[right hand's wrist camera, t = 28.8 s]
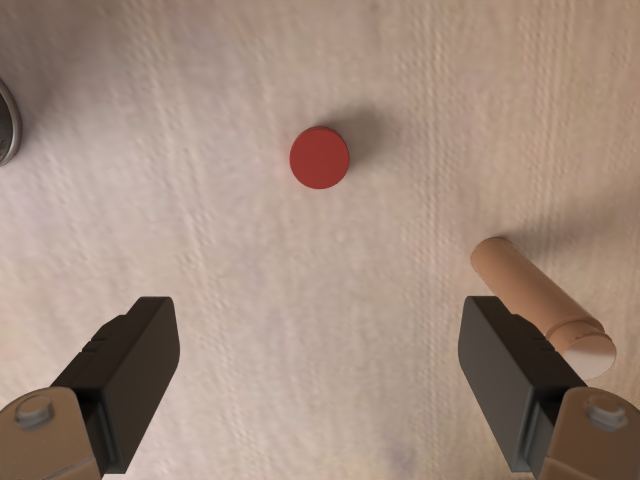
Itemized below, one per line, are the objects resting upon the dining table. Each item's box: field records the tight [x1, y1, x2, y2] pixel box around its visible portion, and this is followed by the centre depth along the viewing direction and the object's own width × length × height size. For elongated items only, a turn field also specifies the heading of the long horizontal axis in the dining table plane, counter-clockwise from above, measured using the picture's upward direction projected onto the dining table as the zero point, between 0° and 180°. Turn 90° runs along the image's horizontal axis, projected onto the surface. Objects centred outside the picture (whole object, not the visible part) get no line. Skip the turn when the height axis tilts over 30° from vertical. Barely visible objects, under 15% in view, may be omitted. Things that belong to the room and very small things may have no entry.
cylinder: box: [471, 238, 616, 380], centre depth 32 cm, size 4×4×15 cm
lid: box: [290, 127, 349, 189], centre depth 35 cm, size 5×5×2 cm
